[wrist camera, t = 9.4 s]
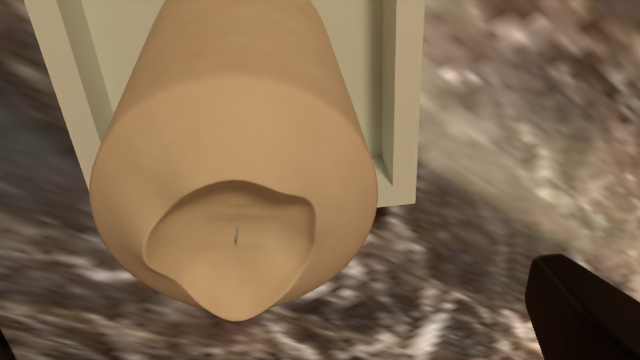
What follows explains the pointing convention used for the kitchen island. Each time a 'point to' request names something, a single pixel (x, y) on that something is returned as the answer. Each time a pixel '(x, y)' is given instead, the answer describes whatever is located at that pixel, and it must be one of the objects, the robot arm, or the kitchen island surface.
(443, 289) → the kitchen island surface
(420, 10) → the parts tray
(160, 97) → the candle
